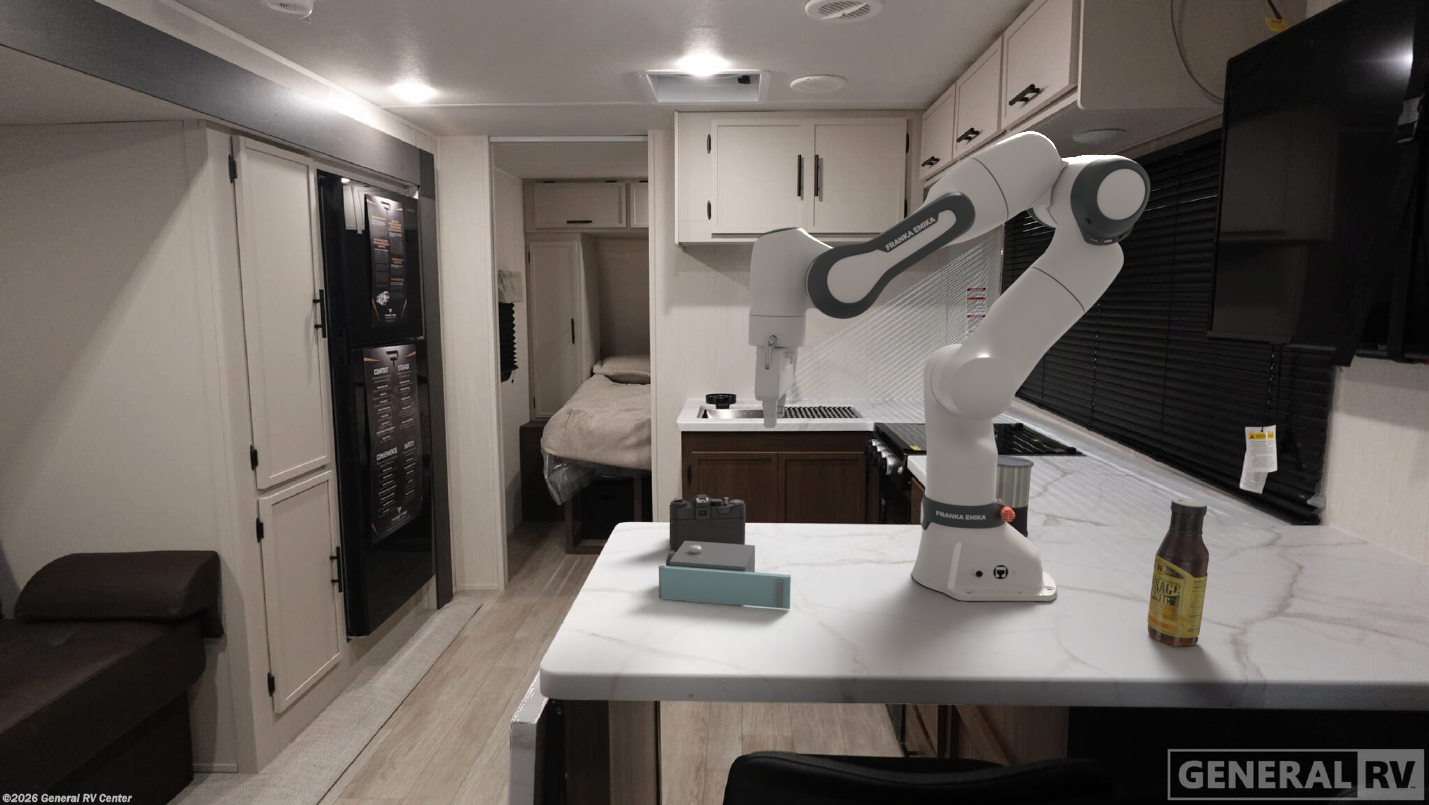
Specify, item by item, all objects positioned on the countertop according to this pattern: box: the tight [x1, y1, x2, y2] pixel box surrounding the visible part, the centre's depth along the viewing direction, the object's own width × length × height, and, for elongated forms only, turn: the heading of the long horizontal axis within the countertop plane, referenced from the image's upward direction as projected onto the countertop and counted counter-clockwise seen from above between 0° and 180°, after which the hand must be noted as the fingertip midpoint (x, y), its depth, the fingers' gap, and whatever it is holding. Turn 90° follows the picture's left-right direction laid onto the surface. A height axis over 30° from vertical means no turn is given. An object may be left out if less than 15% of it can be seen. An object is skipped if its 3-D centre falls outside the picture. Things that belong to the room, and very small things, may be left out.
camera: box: [669, 494, 746, 552], centre depth 143 cm, size 14×11×10 cm
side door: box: [658, 564, 792, 610], centre depth 114 cm, size 20×2×5 cm, turn 78°
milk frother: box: [995, 454, 1035, 537], centre depth 146 cm, size 14×16×15 cm
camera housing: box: [665, 541, 756, 572], centre depth 121 cm, size 13×10×7 cm
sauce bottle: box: [1146, 497, 1210, 648], centre depth 102 cm, size 7×6×20 cm
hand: (774, 422), depth 118 cm, fingers open, 8 cm apart
